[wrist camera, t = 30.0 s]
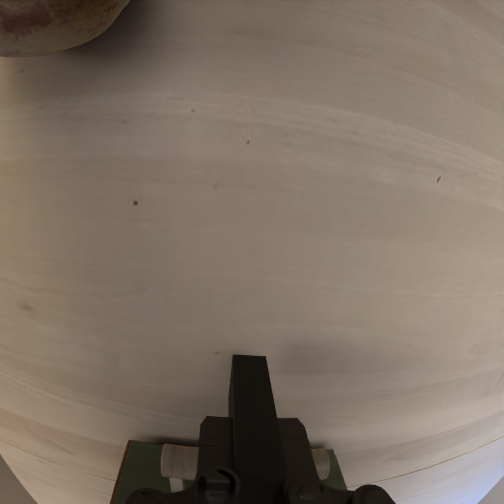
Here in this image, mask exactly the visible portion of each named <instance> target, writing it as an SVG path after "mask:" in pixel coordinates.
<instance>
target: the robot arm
mask: <svg viewBox="0 0 504 504" xmlns="http://www.w3.org/2000/svg"><path fill="white" fill-rule="evenodd" d="M228 400H229V417H214V416H206V418H205V419H204V421H203V422H202V423H201V425H200V437H199V448H198V461H197V473H196V476H195V479H194V483H193V484H192V485H191V486H190V487H189V488H187V489H185V490H183V491H179V492H172V493H165V494H164V493H162V492H160V491H158V490H156V489H151V488H141V489H138V490H136V491H133V492H132V493H131V494H130V495H129V497H128V498H127V500H126V502H125V503H124V504H395V502H394V501H393V500H392V499H391V497H390V496H389V495H388V493H387V492H386V491H385V490H384V489H382V488H381V487H379V486H376V485H369V484H368V485H364V486H361V487H359V488H358V489H356V490H355V491H348V490H339V489H334V488H331V487H329V486H327V485H326V484H324V483H323V482H322V481H321V480H320V478H319V476H318V473H317V470H316V466H315V463H314V459H313V455H312V452H311V448H310V446H309V445H310V444H309V441H308V439H307V434H306V430H305V427H304V425H303V424H302V423H301V422H300V421H299V420H298V418H277V415H276V410H275V404H274V399H273V393H272V388H271V383H270V377H269V372H268V366H267V361H266V356H250V355H234V354H233V358H232V368H231V378H230V388H229V397H228Z"/></svg>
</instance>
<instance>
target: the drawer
mask: <svg viewBox="0 0 504 504" xmlns="http://www.w3.org/2000/svg"><path fill="white" fill-rule="evenodd" d="M198 448H199V447H189V446H180V445H173V444H164V446H163V445H157V444H151V443H145V442H139V441H134V440H132V441H131V444H130V448H129V451H128V454H127V458H126V461H125V465H124V468H123V471H122V475H121V478H120V482H119V486H118V489H117V493H116V497H115V500H114V504H124V503H125V502H126V500H127V498H128V497H129V495H130V494H131V493H132V492H133V491H136V490H138V489H141V488H151V489H156V490H158V491H160V492H162V493H164V494H165V493H172V492H179V491H183V490H185V489H187V488H189V487H190V486H191V485H192V484H193V483H194V479H195V476H196V473H197V461H198ZM311 452H312V455H313V459H314V463H315V466H316V470H317V473H318V476H319V478H320V480H321V481H322V482H323V483H324V484H326V485H327V486H329V487H331V488H334V489H339V490H347V488H346V485H345V482H344V479H343V476H342V473H341V470H340V468H339V465H338V462H337V459H336V456H335V453H334V451H333V449H331V450H326V449H324V448H318V449H311Z"/></svg>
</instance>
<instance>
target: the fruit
mask: <svg viewBox="0 0 504 504" xmlns="http://www.w3.org/2000/svg"><path fill="white" fill-rule="evenodd" d="M130 1H131V0H0V56H2V57H27V56H40V55H47V54H51V53H55V52H59V51H63V50H66V49H69V48H72V47H75V46H78V45H81V44H83V43H86V42H88V41H90V40H92V39H94V38H96V37H97V36H99V35H100V34H102V33H104V32H105V31H106V30H107V29H108V28H109V27H110V26H111V24H112V23H113V22H114V21H115V19H116V18H117V17H118V15H119V14H120V12H121V11H122V10H123V9H124V7H125V6H126V5H127V4H128V3H129V2H130Z"/></svg>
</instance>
